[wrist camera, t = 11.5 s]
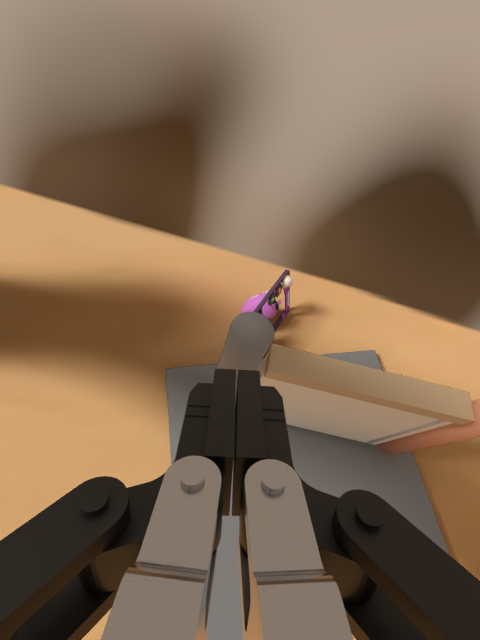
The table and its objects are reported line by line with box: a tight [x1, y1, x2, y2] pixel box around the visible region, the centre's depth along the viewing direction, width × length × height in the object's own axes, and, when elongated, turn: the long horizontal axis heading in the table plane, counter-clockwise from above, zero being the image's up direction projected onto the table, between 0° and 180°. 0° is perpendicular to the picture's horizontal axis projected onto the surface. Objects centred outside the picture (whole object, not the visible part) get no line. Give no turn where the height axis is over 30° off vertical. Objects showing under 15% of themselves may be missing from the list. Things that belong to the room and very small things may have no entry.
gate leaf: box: [257, 343, 474, 445], centre depth 28 cm, size 14×2×13 cm, turn 80°
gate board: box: [166, 312, 480, 640], centre depth 25 cm, size 24×22×17 cm
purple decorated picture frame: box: [237, 270, 292, 332], centre depth 37 cm, size 7×5×9 cm
